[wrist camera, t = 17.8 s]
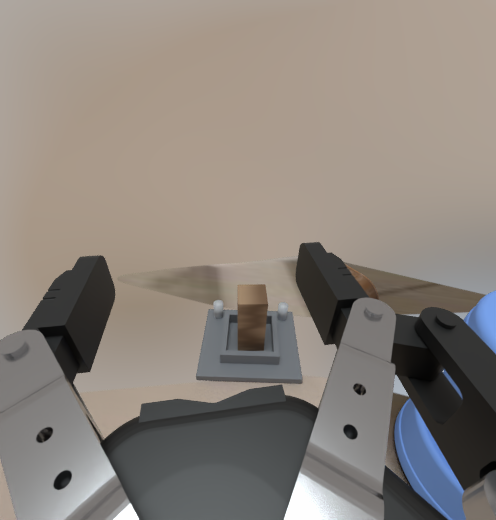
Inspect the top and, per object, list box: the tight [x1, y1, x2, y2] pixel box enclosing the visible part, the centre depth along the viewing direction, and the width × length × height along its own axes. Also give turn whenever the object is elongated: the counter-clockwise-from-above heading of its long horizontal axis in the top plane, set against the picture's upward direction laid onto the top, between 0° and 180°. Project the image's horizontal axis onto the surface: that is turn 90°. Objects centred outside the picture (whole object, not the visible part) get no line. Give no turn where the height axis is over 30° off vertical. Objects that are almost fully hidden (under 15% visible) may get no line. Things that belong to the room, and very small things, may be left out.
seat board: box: [196, 300, 302, 383], centre depth 43 cm, size 15×13×4 cm
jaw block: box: [238, 285, 268, 351], centre depth 41 cm, size 4×4×10 cm
